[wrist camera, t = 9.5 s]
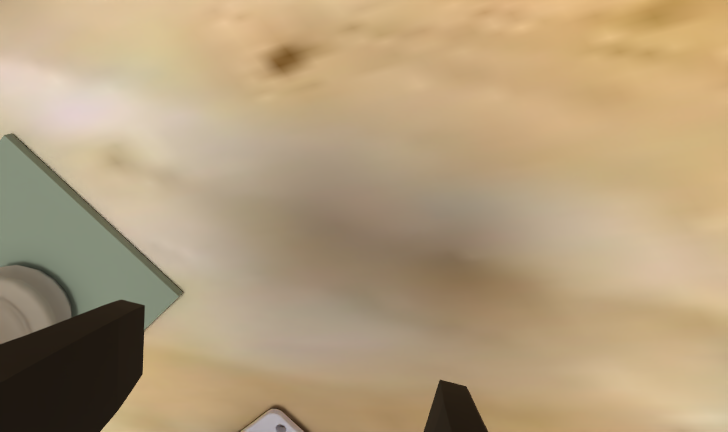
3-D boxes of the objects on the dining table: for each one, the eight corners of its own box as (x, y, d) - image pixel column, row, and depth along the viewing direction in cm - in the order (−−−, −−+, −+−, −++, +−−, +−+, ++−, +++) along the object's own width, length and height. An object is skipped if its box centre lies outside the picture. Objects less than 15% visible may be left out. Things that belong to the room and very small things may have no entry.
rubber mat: (183, 292, 22) (179, 296, 22) (71, 399, 25) (66, 405, 25) (11, 133, 21) (4, 135, 20) (-84, 268, 24) (-93, 272, 24)
